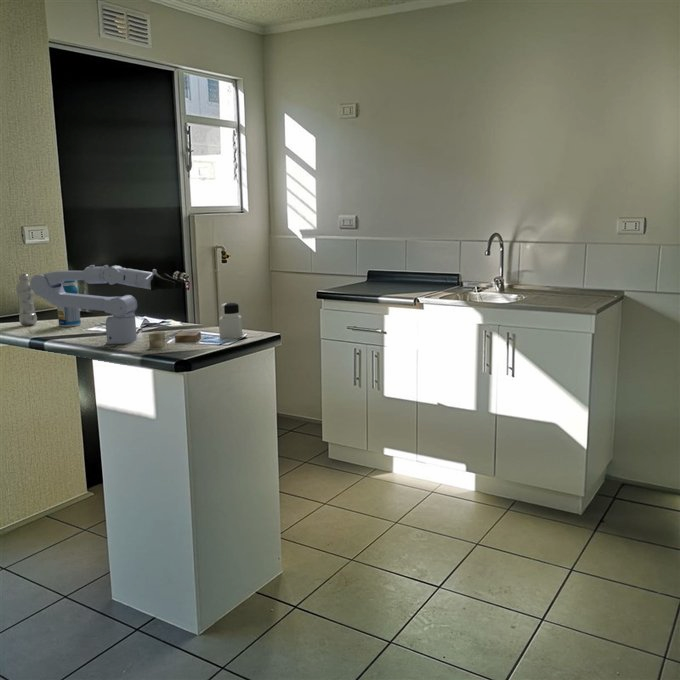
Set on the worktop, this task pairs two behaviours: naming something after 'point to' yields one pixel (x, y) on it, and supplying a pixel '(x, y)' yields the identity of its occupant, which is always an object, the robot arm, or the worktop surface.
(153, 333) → the maple block
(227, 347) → the worktop surface
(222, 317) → the medicine bottle
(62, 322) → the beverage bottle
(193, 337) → the walnut slab
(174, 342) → the mat
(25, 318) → the plastic bottle
